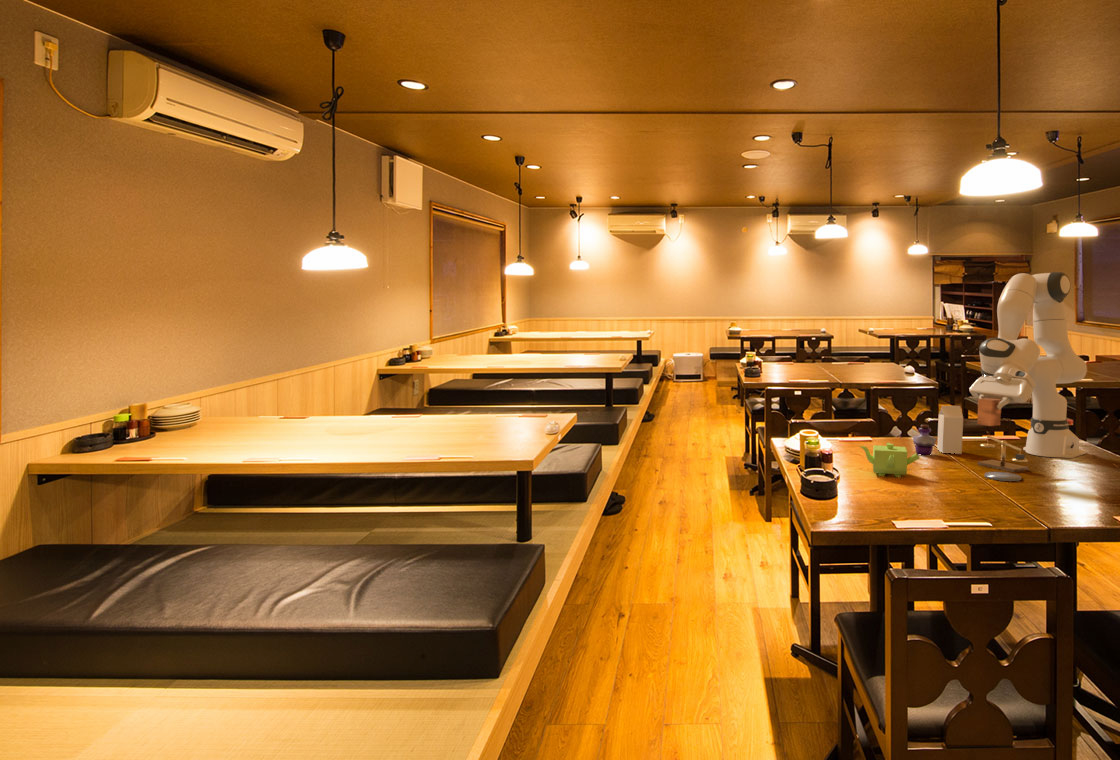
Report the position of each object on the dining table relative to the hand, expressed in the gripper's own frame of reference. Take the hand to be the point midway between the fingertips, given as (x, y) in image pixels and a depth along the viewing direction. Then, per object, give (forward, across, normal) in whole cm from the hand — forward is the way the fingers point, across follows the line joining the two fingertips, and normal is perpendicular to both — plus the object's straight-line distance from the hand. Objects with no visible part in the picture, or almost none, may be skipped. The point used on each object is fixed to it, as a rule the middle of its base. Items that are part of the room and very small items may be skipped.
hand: (988, 406), depth 256 cm
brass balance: (+6, -4, +28) cm, 29 cm away
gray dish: (+16, +6, +18) cm, 25 cm away
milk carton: (+2, -32, +32) cm, 45 cm away
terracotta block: (+4, 0, +5) cm, 6 cm away
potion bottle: (+11, -34, +24) cm, 43 cm away
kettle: (+38, -16, -3) cm, 41 cm away
